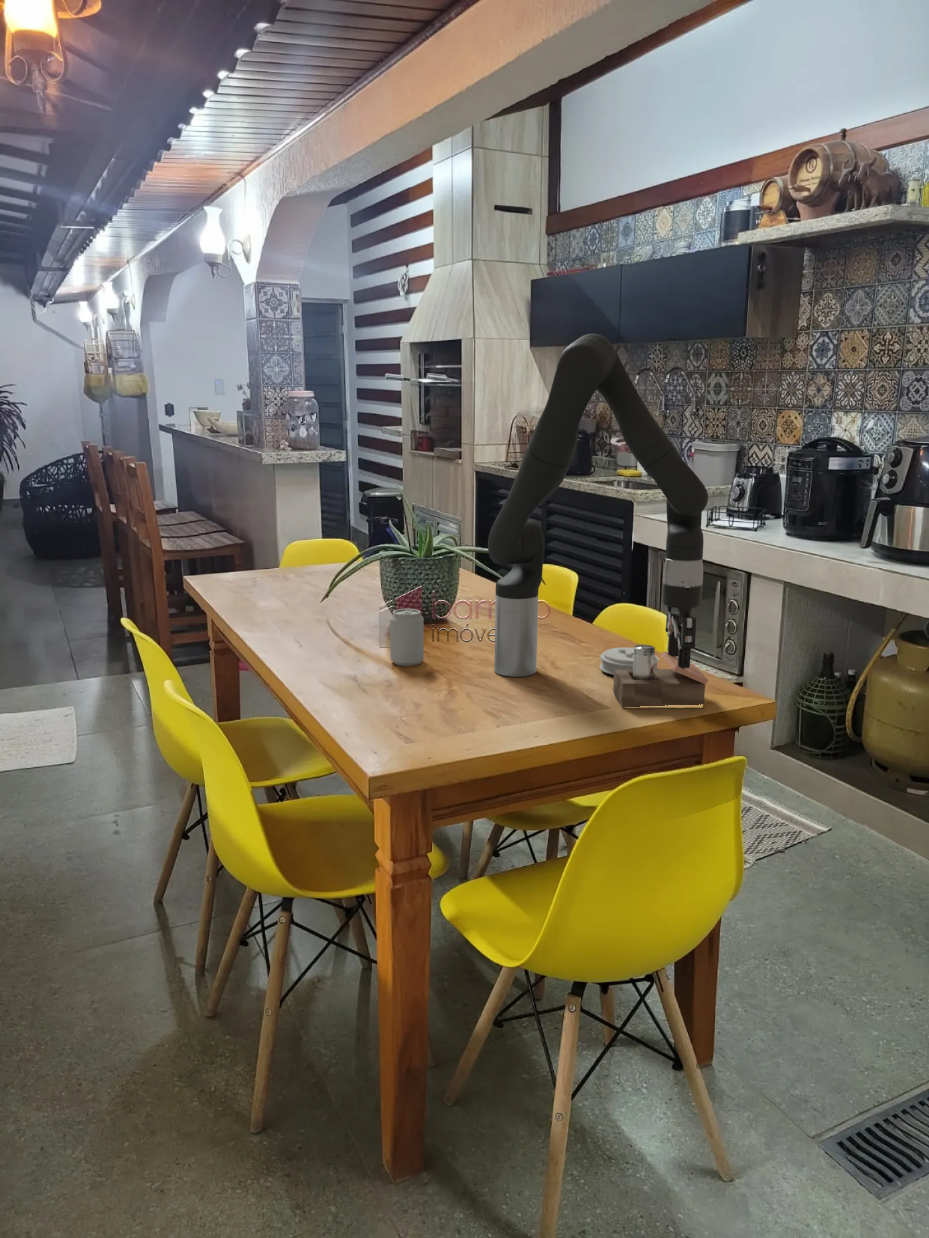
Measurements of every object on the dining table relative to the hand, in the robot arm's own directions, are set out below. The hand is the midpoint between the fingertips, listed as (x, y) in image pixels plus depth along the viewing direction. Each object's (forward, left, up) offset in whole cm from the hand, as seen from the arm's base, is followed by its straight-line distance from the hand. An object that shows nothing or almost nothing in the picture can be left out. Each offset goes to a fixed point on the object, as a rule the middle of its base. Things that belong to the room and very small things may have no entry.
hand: (678, 661), depth 190 cm
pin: (0, -7, -8) cm, 11 cm away
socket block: (0, -4, -8) cm, 9 cm away
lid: (-20, -6, -9) cm, 23 cm away
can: (-27, -55, -8) cm, 62 cm away
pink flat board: (0, +1, -2) cm, 2 cm away
